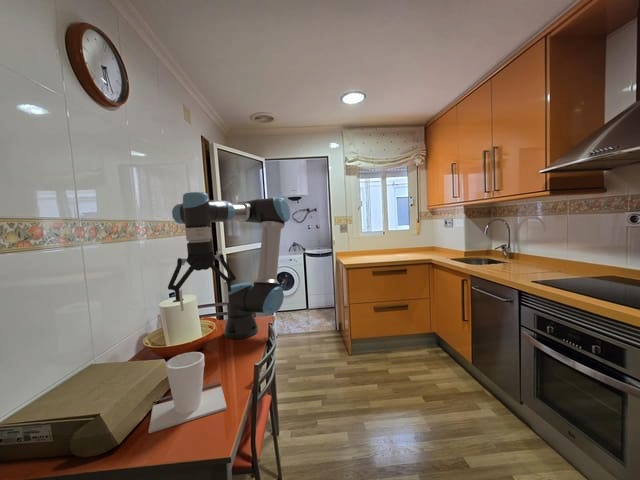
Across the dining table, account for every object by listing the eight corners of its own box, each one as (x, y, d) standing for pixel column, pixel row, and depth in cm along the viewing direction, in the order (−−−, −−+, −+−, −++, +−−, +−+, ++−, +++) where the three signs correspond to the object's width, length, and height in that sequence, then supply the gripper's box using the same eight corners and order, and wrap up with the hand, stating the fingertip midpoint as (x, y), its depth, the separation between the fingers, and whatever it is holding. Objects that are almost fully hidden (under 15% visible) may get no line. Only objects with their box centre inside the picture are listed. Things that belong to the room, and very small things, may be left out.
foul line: (220, 382, 88) (220, 381, 88) (220, 384, 87) (220, 383, 87) (154, 400, 80) (154, 399, 80) (154, 403, 79) (153, 402, 79)
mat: (221, 388, 84) (221, 386, 84) (226, 409, 75) (226, 406, 75) (153, 407, 77) (153, 405, 76) (148, 433, 67) (148, 431, 67)
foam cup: (180, 396, 80) (177, 352, 80) (212, 395, 80) (209, 351, 80) (161, 418, 71) (158, 369, 70) (197, 417, 71) (194, 368, 70)
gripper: (153, 245, 80) (161, 317, 82) (241, 238, 91) (246, 301, 93) (155, 244, 87) (162, 310, 88) (236, 237, 98) (241, 296, 100)
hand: (205, 305), depth 91 cm, fingers open, 13 cm apart
